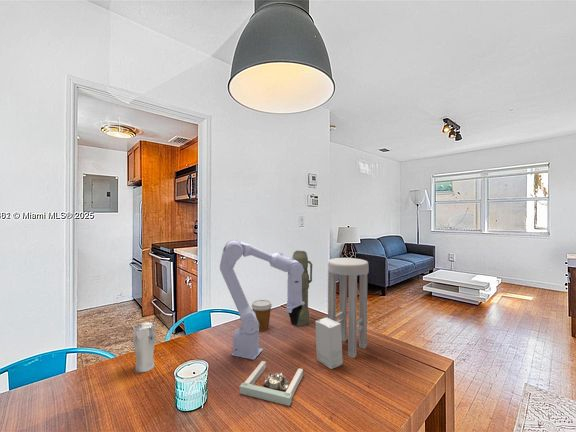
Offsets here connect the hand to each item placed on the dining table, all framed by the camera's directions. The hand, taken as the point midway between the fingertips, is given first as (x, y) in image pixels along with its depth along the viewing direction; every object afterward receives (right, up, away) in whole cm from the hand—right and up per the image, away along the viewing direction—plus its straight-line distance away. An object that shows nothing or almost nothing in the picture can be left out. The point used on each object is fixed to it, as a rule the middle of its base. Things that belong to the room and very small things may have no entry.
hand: (294, 324), depth 112 cm
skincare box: (+12, -10, -10) cm, 19 cm away
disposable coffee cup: (-15, -9, +18) cm, 25 cm away
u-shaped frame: (-7, -10, -23) cm, 26 cm away
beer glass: (-53, -10, -14) cm, 55 cm away
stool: (+21, -10, 0) cm, 23 cm away
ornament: (-6, -11, -23) cm, 26 cm away
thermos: (+3, -9, +25) cm, 26 cm away
